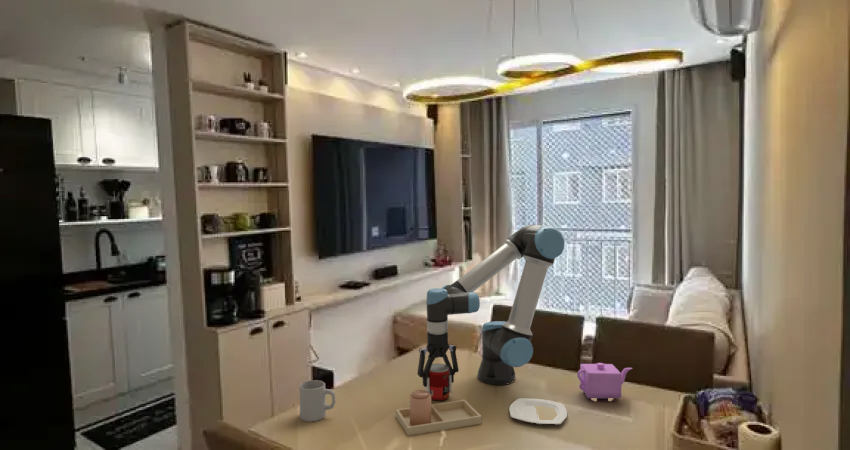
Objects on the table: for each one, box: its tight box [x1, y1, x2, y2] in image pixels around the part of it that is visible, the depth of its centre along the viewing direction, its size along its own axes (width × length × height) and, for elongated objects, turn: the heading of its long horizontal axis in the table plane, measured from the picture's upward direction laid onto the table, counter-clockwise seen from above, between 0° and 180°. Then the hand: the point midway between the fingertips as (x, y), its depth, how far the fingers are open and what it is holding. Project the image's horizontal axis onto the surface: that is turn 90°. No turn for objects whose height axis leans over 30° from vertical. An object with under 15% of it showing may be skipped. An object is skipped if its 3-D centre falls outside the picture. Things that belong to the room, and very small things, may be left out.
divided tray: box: [395, 399, 483, 437], centre depth 166 cm, size 25×14×3 cm, turn 109°
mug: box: [299, 379, 336, 423], centre depth 170 cm, size 12×8×11 cm
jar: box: [409, 389, 432, 426], centre depth 164 cm, size 7×7×10 cm
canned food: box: [428, 363, 450, 401], centre depth 184 cm, size 8×8×11 cm
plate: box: [509, 397, 568, 425], centre depth 171 cm, size 19×19×2 cm
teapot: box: [576, 362, 633, 399], centre depth 185 cm, size 20×10×12 cm, turn 88°
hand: (438, 392), depth 184 cm, fingers closed on canned food, 8 cm apart
